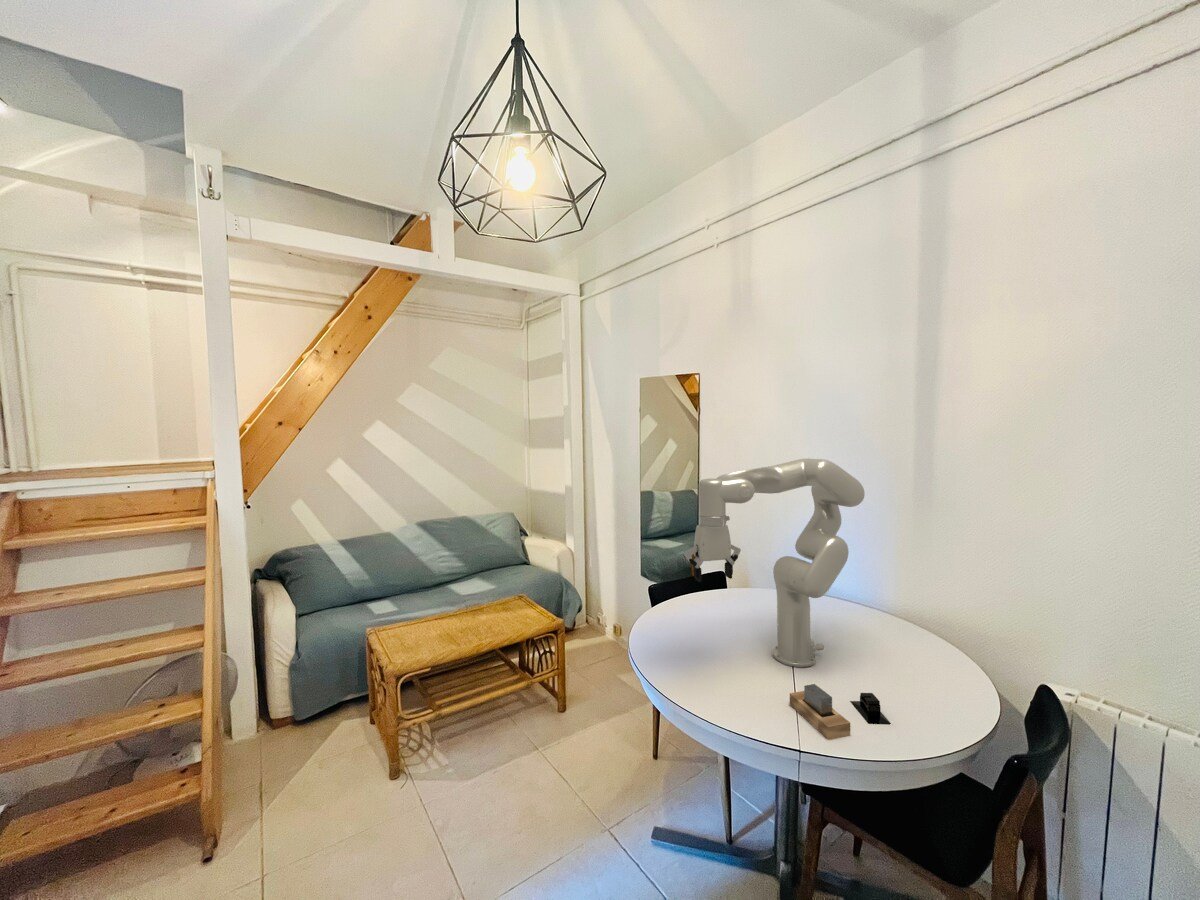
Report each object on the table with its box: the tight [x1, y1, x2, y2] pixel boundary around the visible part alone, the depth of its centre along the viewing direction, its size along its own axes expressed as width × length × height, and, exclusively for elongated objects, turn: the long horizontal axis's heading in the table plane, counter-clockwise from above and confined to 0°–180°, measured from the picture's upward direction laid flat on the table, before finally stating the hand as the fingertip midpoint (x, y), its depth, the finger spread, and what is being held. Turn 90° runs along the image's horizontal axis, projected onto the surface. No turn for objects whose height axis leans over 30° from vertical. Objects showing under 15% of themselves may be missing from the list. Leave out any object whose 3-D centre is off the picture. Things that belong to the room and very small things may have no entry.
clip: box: [803, 683, 833, 717], centre depth 111 cm, size 6×3×7 cm, turn 14°
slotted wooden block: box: [789, 690, 851, 741], centre depth 111 cm, size 14×6×3 cm, turn 13°
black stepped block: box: [849, 692, 892, 726], centre depth 113 cm, size 12×7×5 cm, turn 176°
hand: (713, 578), depth 132 cm, fingers open, 9 cm apart
